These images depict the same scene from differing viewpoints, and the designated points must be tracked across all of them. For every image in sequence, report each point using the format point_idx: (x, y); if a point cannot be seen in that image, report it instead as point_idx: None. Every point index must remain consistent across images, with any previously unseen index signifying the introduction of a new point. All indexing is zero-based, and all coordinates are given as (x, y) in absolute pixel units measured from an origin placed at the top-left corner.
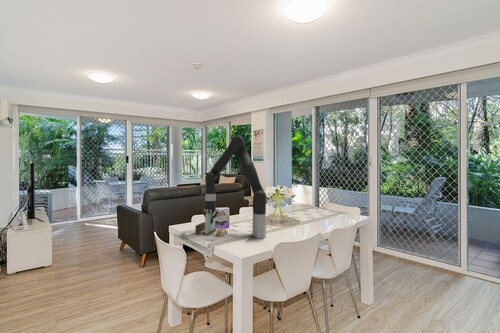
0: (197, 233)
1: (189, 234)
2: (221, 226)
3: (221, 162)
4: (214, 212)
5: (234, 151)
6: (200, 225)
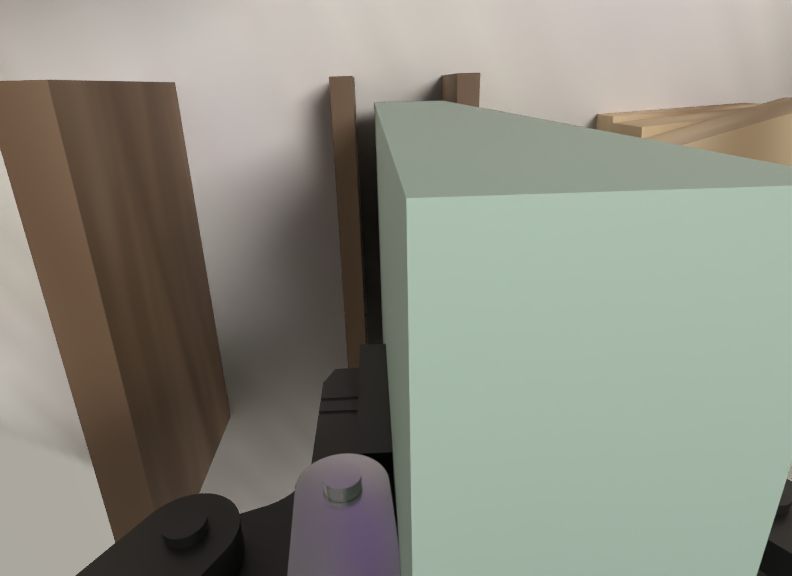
0: (217, 413)
1: (72, 419)
2: None
3: None
4: (772, 321)
5: None
6: (144, 394)
